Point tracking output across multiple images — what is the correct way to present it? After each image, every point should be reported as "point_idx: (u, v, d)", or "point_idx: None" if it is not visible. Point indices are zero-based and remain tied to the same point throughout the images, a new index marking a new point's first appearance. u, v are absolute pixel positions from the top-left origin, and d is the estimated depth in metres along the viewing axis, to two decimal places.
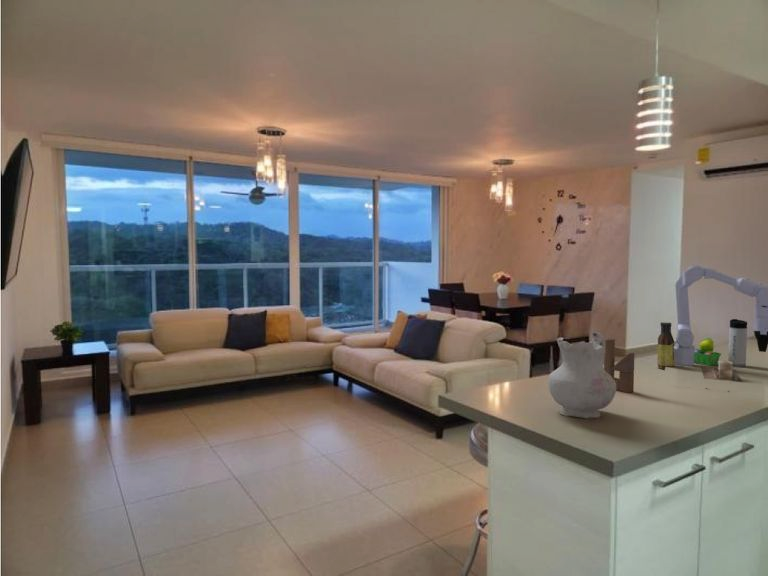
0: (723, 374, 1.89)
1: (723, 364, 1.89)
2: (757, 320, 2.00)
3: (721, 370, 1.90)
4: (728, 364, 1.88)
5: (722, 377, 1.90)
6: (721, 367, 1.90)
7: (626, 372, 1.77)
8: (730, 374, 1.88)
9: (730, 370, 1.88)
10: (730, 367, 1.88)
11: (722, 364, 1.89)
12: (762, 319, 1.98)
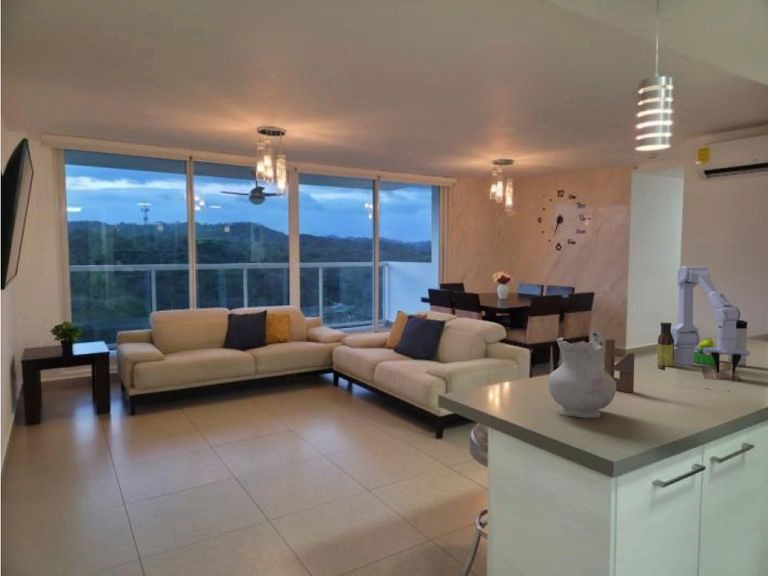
0: (723, 374, 1.89)
1: (723, 364, 1.89)
2: None
3: (721, 370, 1.90)
4: (728, 364, 1.88)
5: (722, 377, 1.90)
6: (721, 367, 1.90)
7: (626, 372, 1.77)
8: (730, 374, 1.88)
9: (730, 370, 1.88)
10: (730, 367, 1.88)
11: (722, 364, 1.89)
12: None
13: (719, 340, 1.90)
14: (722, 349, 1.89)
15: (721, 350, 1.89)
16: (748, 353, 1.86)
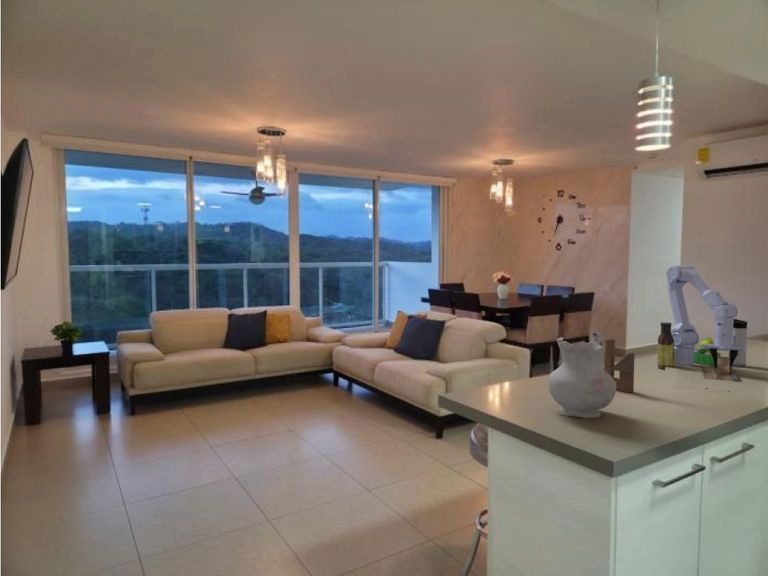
0: (721, 369, 1.97)
1: (721, 359, 1.97)
2: None
3: (719, 365, 1.98)
4: (726, 359, 1.96)
5: (720, 372, 1.98)
6: (719, 362, 1.98)
7: (626, 372, 1.77)
8: (727, 369, 1.96)
9: (727, 365, 1.96)
10: (727, 362, 1.96)
11: (720, 359, 1.97)
12: (715, 336, 2.00)
13: (717, 337, 1.98)
14: (720, 345, 1.97)
15: (719, 346, 1.97)
16: (745, 349, 1.94)
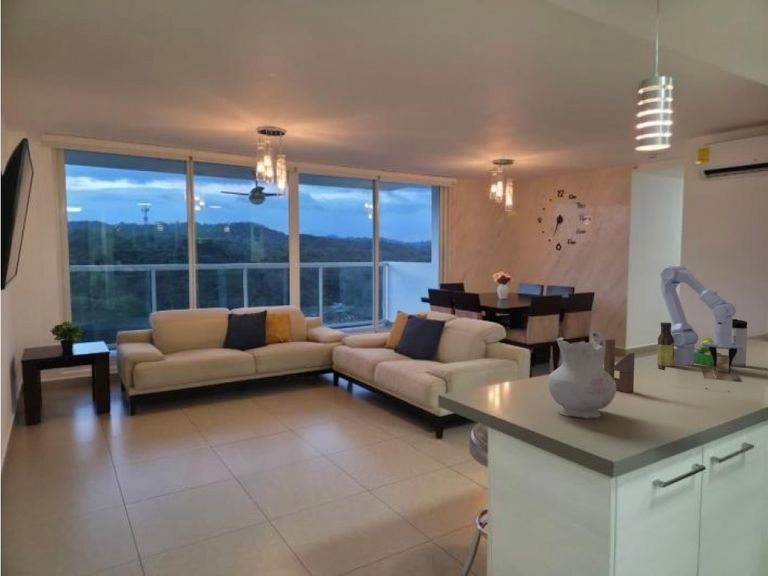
0: (720, 367, 2.01)
1: (720, 358, 2.00)
2: None
3: (718, 363, 2.01)
4: (725, 358, 2.00)
5: (719, 370, 2.01)
6: (718, 360, 2.01)
7: (626, 372, 1.77)
8: (727, 367, 2.00)
9: (727, 363, 1.99)
10: (727, 360, 1.99)
11: (719, 358, 2.01)
12: None
13: (716, 335, 2.01)
14: (719, 344, 2.00)
15: (718, 345, 2.00)
16: (744, 347, 1.98)
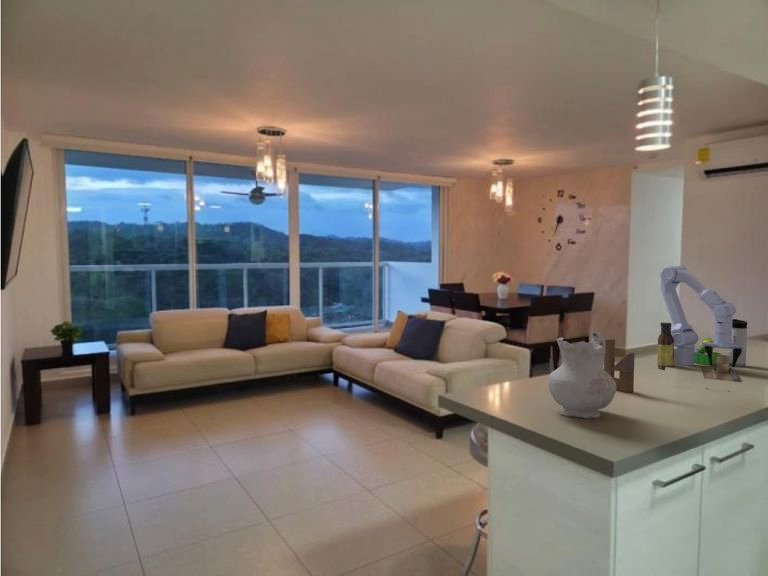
0: (720, 367, 2.01)
1: (720, 358, 2.00)
2: None
3: (718, 363, 2.01)
4: (725, 358, 2.00)
5: (719, 370, 2.01)
6: (718, 361, 2.01)
7: (626, 372, 1.77)
8: (727, 367, 2.00)
9: (727, 363, 1.99)
10: (727, 361, 1.99)
11: (719, 358, 2.01)
12: None
13: (716, 335, 2.01)
14: (719, 343, 2.00)
15: (718, 344, 2.00)
16: (744, 347, 1.98)
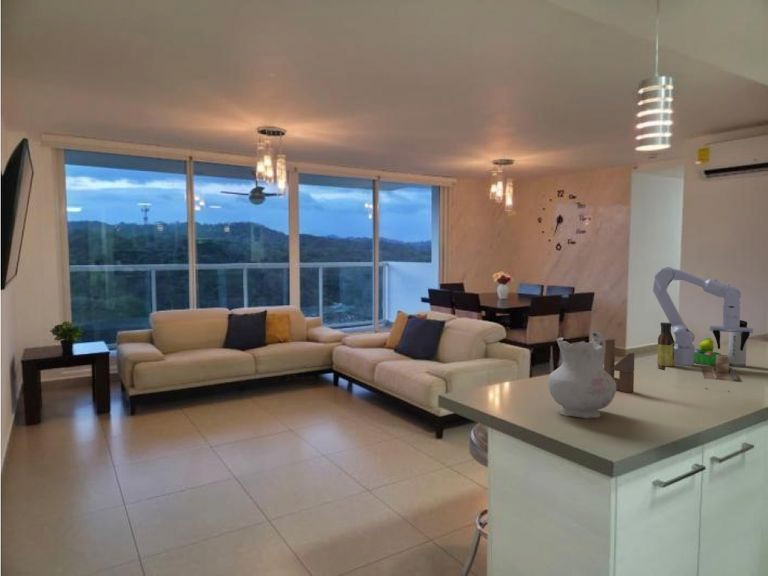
0: (720, 367, 2.01)
1: (720, 358, 2.00)
2: None
3: (718, 363, 2.01)
4: (725, 358, 2.00)
5: (719, 370, 2.01)
6: (718, 361, 2.01)
7: (626, 372, 1.77)
8: (727, 367, 2.00)
9: (727, 363, 1.99)
10: (727, 361, 1.99)
11: (719, 358, 2.01)
12: None
13: (724, 319, 2.05)
14: (727, 327, 2.04)
15: (726, 328, 2.04)
16: (751, 330, 2.01)
